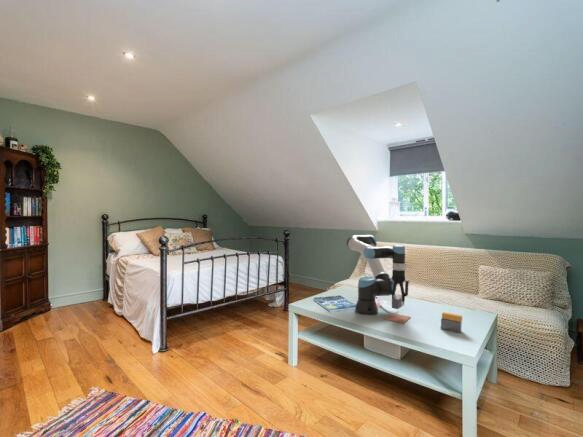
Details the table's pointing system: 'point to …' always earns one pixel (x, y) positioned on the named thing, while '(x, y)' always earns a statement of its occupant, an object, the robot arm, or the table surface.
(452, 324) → the gray rectangular box
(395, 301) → the tall gray pillar
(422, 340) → the table surface
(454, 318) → the orange rectangular beam
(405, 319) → the mat
